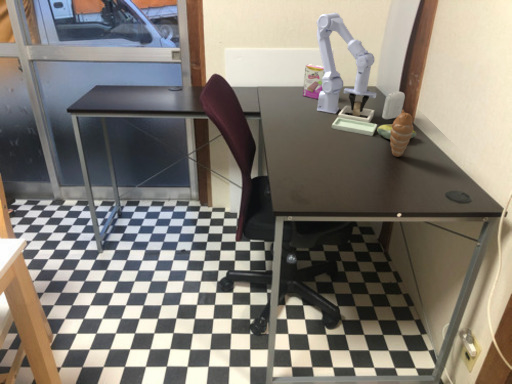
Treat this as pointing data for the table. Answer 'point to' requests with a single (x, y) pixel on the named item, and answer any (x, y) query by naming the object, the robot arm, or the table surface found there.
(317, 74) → the candy bar box
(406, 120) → the tan ribbed oblong piece
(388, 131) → the cell model
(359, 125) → the tray
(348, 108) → the square open frame
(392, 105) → the photo printer
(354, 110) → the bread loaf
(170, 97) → the table surface
